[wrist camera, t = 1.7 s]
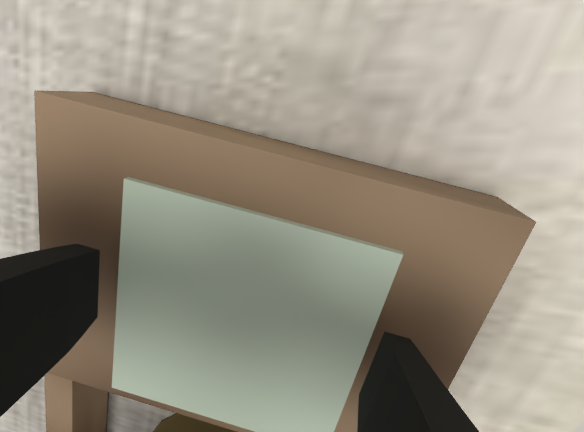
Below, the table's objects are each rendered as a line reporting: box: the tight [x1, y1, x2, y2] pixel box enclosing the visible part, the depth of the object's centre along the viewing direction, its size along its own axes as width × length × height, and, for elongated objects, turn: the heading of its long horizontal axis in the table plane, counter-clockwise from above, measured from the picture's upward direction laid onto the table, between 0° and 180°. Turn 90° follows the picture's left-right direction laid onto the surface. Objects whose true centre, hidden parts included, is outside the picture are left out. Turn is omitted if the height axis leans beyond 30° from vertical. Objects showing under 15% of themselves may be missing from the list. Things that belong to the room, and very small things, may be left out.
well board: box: [34, 91, 536, 432], centre depth 12 cm, size 20×12×2 cm, turn 167°
